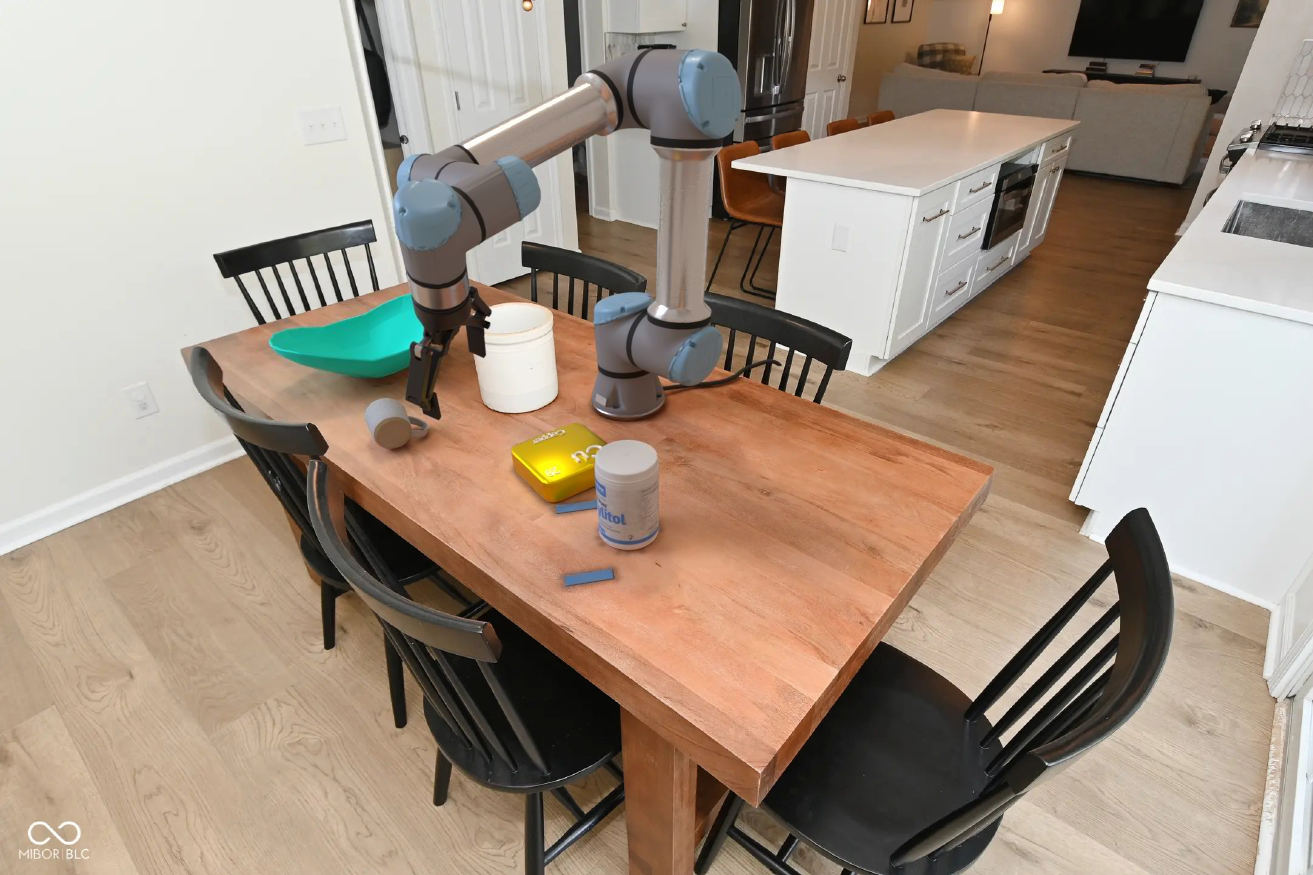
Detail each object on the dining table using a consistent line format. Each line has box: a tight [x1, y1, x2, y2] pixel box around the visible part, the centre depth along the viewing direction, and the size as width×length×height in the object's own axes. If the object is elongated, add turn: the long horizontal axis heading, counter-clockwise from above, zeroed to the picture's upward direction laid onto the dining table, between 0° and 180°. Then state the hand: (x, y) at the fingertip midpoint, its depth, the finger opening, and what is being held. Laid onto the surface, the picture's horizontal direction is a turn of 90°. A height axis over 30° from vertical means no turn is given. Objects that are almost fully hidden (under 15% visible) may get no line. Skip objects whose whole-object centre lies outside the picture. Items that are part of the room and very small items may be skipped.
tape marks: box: [555, 499, 615, 587], centre depth 107 cm, size 7×19×1 cm, turn 11°
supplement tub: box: [595, 439, 660, 551], centre depth 104 cm, size 10×10×15 cm
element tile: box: [510, 422, 609, 503], centre depth 121 cm, size 15×15×5 cm
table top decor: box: [268, 292, 424, 380], centre depth 155 cm, size 40×28×13 cm
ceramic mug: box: [364, 397, 429, 450], centre depth 131 cm, size 11×8×8 cm
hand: (455, 383), depth 108 cm, fingers open, 13 cm apart
